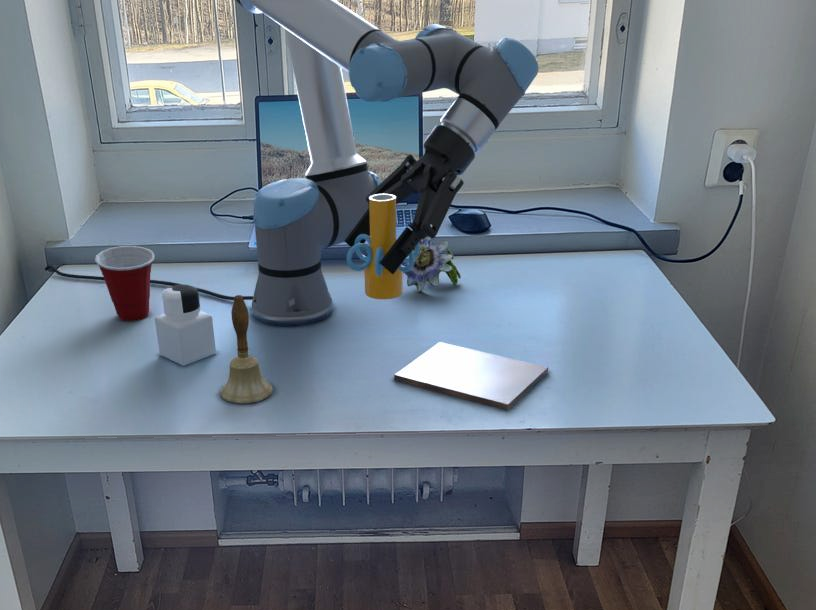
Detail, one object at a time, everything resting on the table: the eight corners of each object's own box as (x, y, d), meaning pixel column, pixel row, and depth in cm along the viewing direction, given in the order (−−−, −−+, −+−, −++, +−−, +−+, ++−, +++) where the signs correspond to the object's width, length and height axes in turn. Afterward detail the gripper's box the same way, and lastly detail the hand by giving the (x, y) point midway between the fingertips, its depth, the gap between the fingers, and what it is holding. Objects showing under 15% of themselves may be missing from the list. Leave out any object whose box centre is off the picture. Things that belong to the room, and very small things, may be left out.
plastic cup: (123, 332, 168) (113, 268, 162) (95, 316, 175) (83, 255, 169) (173, 315, 174) (165, 254, 168) (144, 301, 181) (135, 241, 175)
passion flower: (420, 316, 184) (385, 272, 178) (422, 287, 192) (389, 244, 186) (468, 288, 178) (433, 242, 172) (468, 260, 186) (435, 215, 180)
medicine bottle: (192, 342, 163) (184, 277, 157) (217, 353, 159) (209, 287, 152) (159, 355, 159) (149, 289, 153) (183, 367, 155) (174, 299, 148)
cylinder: (412, 309, 138) (412, 209, 130) (344, 306, 140) (340, 208, 132) (422, 280, 148) (422, 186, 140) (358, 279, 150) (355, 186, 142)
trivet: (394, 380, 148) (394, 374, 147) (439, 347, 158) (439, 341, 157) (507, 410, 138) (508, 404, 137) (548, 372, 148) (548, 367, 148)
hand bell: (224, 381, 150) (214, 287, 141) (275, 380, 149) (267, 286, 141) (217, 404, 143) (206, 308, 134) (270, 403, 142) (262, 306, 134)
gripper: (516, 170, 130) (421, 294, 133) (432, 140, 149) (350, 250, 152) (487, 136, 126) (388, 265, 129) (403, 110, 144) (319, 223, 147)
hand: (367, 257), depth 140 cm, fingers closed on cylinder, 11 cm apart
